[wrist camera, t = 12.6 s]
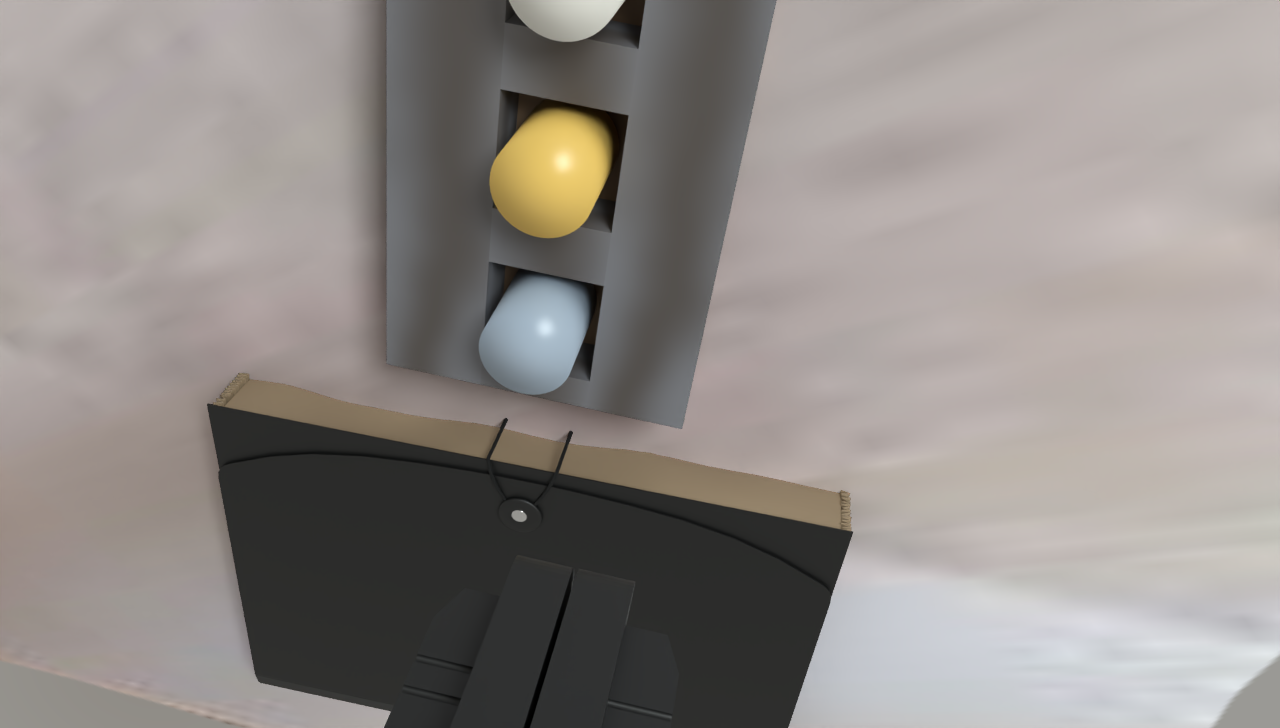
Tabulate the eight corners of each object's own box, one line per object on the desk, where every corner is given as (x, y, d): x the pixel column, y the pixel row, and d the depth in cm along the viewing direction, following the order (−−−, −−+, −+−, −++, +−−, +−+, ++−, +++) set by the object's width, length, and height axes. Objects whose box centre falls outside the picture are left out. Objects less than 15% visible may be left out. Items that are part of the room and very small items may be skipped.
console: (417, 320, 48) (386, 363, 45) (428, -210, 35) (386, -204, 32) (692, 380, 47) (681, 429, 44) (806, -139, 35) (803, -125, 31)
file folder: (854, 535, 47) (761, 810, 60) (853, 479, 50) (765, 752, 64) (202, 405, 49) (256, 699, 63) (242, 360, 52) (286, 648, 66)
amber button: (520, 176, 41) (486, 226, 37) (528, 85, 39) (492, 127, 35) (612, 195, 41) (587, 247, 37) (625, 104, 39) (600, 149, 35)
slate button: (508, 323, 46) (476, 383, 41) (514, 249, 43) (481, 303, 39) (591, 341, 45) (567, 403, 41) (601, 267, 43) (577, 324, 39)
